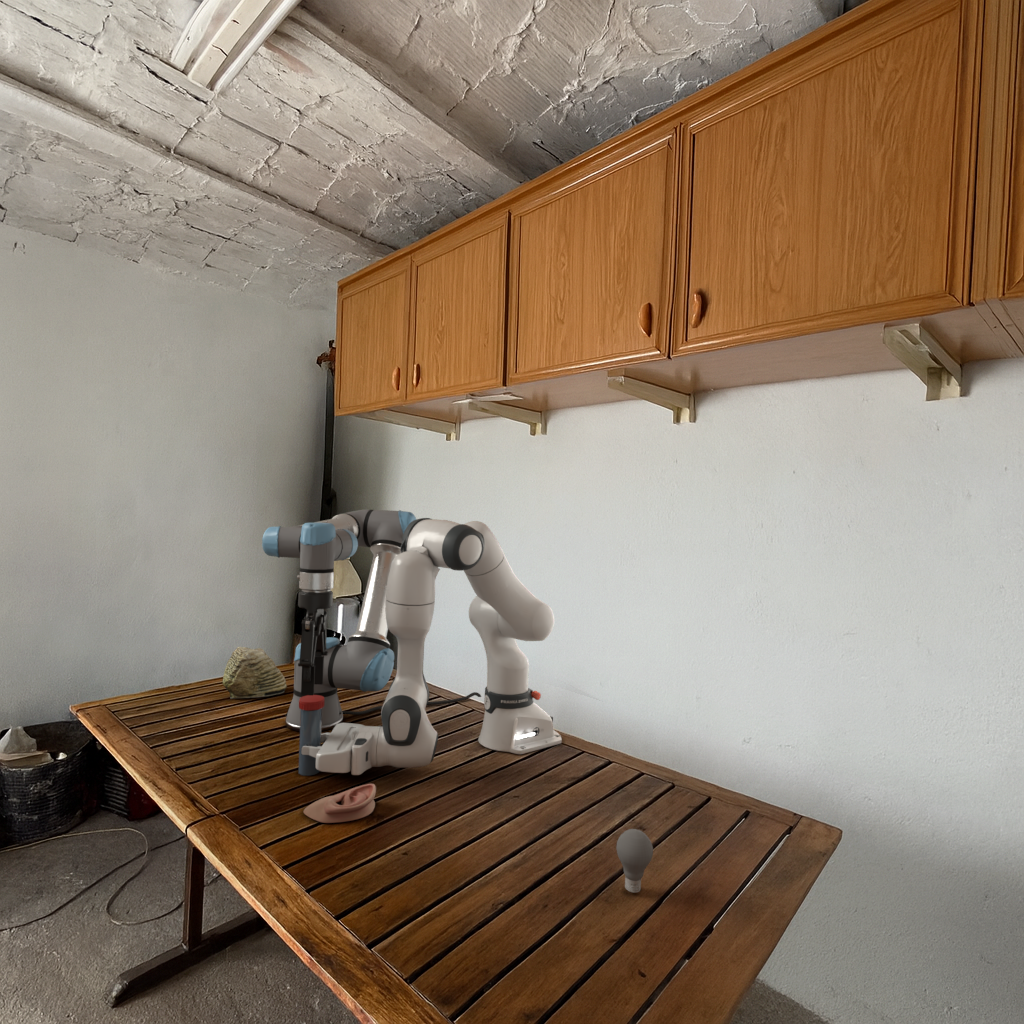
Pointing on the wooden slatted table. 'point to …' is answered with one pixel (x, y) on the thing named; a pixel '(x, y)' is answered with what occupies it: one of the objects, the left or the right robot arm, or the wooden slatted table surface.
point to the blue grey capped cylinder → (309, 739)
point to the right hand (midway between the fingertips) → (306, 744)
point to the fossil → (252, 674)
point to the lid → (311, 702)
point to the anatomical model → (343, 805)
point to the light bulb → (634, 857)
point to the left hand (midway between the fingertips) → (312, 689)
